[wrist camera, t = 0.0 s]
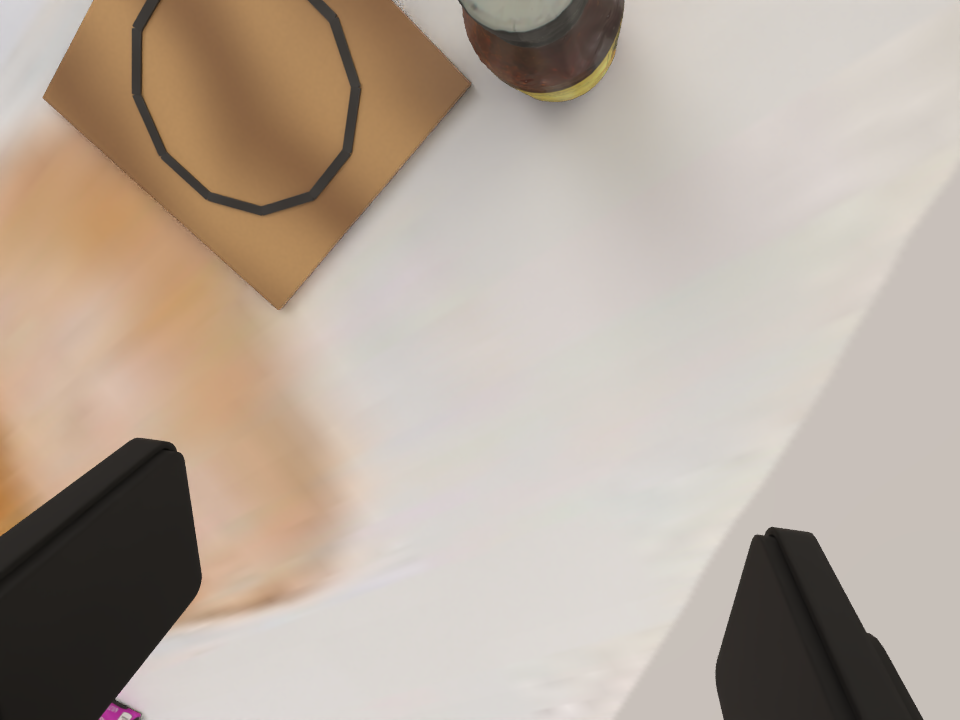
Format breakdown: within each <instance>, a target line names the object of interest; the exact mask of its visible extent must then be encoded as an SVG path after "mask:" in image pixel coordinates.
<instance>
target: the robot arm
mask: <svg viewBox="0 0 960 720" xmlns="http://www.w3.org/2000/svg"><path fill="white" fill-rule="evenodd" d="M201 580H202V573H201V567H200V560H199V553H198V547H197V540H196V533H195V527H194V520H193V513H192V507H191V500H190V493H189V487H188V480H187V473H186V467H185V460H184V457H183V455H182V454H181V453H179V452H177V450H176V447H175V446H174V445H173V444H172V443H170V442H166V441H159V440H152V439H145V438H134V439H133V440H131V441H129V442H128V443H126V444H125V445H124V446H122V447H121V448H119V449H118V450H117V451H115V452H114V453H113V454H111V455H110V456H109V457H107V458H106V459H105V460H103V461H102V462H101V463H99V464H98V465H96V466H95V467H94V468H92V469H91V470H90V471H88V472H87V473H86V474H84V475H83V476H82V477H80V478H79V479H78V480H76V481H75V482H73V483H72V484H71V485H69V486H68V487H67V488H65V489H64V490H63V491H61V492H60V493H59V494H57V495H56V496H55V497H53V498H52V499H50V500H49V501H48V502H46V503H45V504H44V505H42V506H41V507H40V508H38V509H37V510H36V511H34V512H33V513H32V514H30V515H29V516H27V517H26V518H25V519H23V520H22V521H21V522H19V523H18V524H17V525H15V526H14V527H13V528H11V529H10V530H9V531H7V532H6V533H4V534H3V535H2V536H0V720H99V718H100V717H101V716H102V715H103V713H104V712H105V711H106V709H107V708H108V707H109V706H110V704H111V703H112V702H113V701H114V699H115V698H116V697H117V696H118V694H119V693H120V692H121V690H122V689H123V688H124V687H125V685H126V684H127V683H128V682H129V680H130V679H131V678H132V677H133V675H134V674H135V673H136V671H137V670H138V669H139V668H140V666H141V665H142V664H143V663H144V661H145V660H146V659H147V658H148V656H149V655H150V654H151V652H152V651H153V650H154V649H155V647H156V646H157V645H158V644H159V642H160V641H161V640H162V639H163V637H164V636H165V635H166V633H167V632H168V631H169V630H170V628H171V627H172V626H173V625H174V623H175V622H176V621H177V620H178V618H179V617H180V616H181V615H182V613H183V612H184V611H185V609H186V608H187V607H188V606H189V604H190V603H191V602H192V601H193V599H194V598H195V596H196V595H197V593H198V591H199V588H200V585H201ZM716 686H717V692H718V696H719V701H720V705H721V709H722V714H723V718H724V720H923V718H922V716H921V715H920V713H919V711H918V709H917V707H916V705H915V704H914V702H913V700H912V698H911V696H910V695H909V693H908V691H907V689H906V687H905V685H904V684H903V682H902V680H901V678H900V677H899V675H898V673H897V671H896V669H895V667H894V665H893V664H892V662H891V660H890V658H889V657H888V655H887V653H886V651H885V649H884V648H883V647H882V645H881V643H880V642H879V641H878V639H877V638H875V637H874V636H873V635H871V634H870V633H866V631H865V629H864V627H863V625H862V623H861V622H860V620H859V618H858V616H857V614H856V613H855V610H854V608H853V607H852V605H851V603H850V601H849V599H848V597H847V595H846V594H845V592H844V590H843V588H842V586H841V584H840V582H839V580H838V579H837V577H836V575H835V573H834V571H833V570H832V567H831V566H830V564H829V562H828V560H827V558H826V556H825V554H824V552H823V551H822V549H821V547H820V545H819V543H818V541H817V539H816V538H815V536H814V535H813V534H812V533H809V532H804V531H797V530H790V529H783V528H775V527H771V528H769V529H768V530H767V531H766V533H765V535H764V536H763V535H755V536H754V537H753V539H752V542H751V545H750V549H749V552H748V555H747V559H746V562H745V566H744V569H743V572H742V576H741V579H740V583H739V586H738V590H737V593H736V597H735V600H734V604H733V607H732V610H731V614H730V617H729V621H728V624H727V628H726V631H725V635H724V638H723V642H722V645H721V648H720V652H719V655H718V659H717V663H716Z"/></svg>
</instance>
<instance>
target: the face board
mask: <svg viewBox="0 0 960 720" xmlns="http://www.w3.org/2000/svg"><path fill="white" fill-rule="evenodd" d="M470 86H471V82H470V81H469V80H468V79H467V78H466V77H465V76H464V75H463V74H462V73H461V72H460V71H459V70H458V69H457V68H456V67H455V66H454V65H453V64H452V62H451V61H450V60H449V59H448V58H447V57H446V56H445V55H444V54H443V53H442V52H441V51H440V50H439V49H438V48H437V47H436V46H435V45H434V44H433V43H432V42H431V40H430V39H429V38H428V37H427V36H426V35H425V34H424V33H423V32H422V31H421V30H420V29H419V28H418V27H417V26H416V25H415V24H414V23H413V22H412V21H411V20H410V19H409V17H408V16H407V15H406V14H405V13H404V12H403V11H402V10H401V9H400V8H399V7H398V6H397V5H396V4H395V3H394V2H393V1H392V0H93V2H92V4H91V6H90V8H89V10H88V12H87V14H86V16H85V17H84V19H83V21H82V23H81V25H80V27H79V29H78V31H77V33H76V35H75V37H74V38H73V40H72V42H71V44H70V46H69V48H68V50H67V52H66V54H65V56H64V58H63V59H62V61H61V63H60V65H59V67H58V69H57V71H56V73H55V75H54V77H53V79H52V80H51V82H50V84H49V86H48V88H47V90H46V92H45V94H44V96H43V99H44V100H45V101H47V102H48V103H49V104H50V105H51V106H52V107H53V108H54V109H55V110H57V111H58V112H59V113H60V114H61V115H62V116H63V117H64V118H65V119H67V120H68V121H69V122H70V123H71V124H72V125H73V126H74V127H75V128H77V129H78V130H79V131H80V132H81V133H82V134H83V135H84V136H85V137H87V138H88V139H89V140H90V141H91V142H92V143H93V144H94V145H95V146H97V147H98V148H99V149H100V150H101V151H102V152H103V153H104V154H105V155H106V156H108V157H109V158H110V159H111V160H112V161H113V162H114V163H115V164H116V165H118V166H119V167H120V168H121V169H122V170H123V171H124V172H125V173H126V174H128V175H129V176H130V177H131V178H132V179H133V180H134V181H135V182H136V183H138V184H139V185H140V186H141V187H142V188H143V189H144V190H145V191H146V192H148V193H149V194H150V195H151V196H152V197H153V198H154V199H155V200H156V201H158V202H159V203H160V204H161V205H162V206H163V207H164V208H165V209H166V210H168V211H169V212H170V213H171V214H172V215H173V216H174V217H175V218H176V219H178V220H179V221H180V222H181V223H182V224H183V225H184V226H185V227H186V228H188V229H189V230H190V231H191V232H192V233H193V234H194V235H195V236H196V237H198V238H199V239H200V240H201V241H202V242H203V243H204V244H205V245H206V246H208V247H209V248H210V249H211V250H212V251H213V252H214V253H215V254H216V255H218V256H219V257H220V258H221V259H222V260H223V261H224V262H225V263H226V264H228V265H229V266H230V267H231V268H232V269H233V270H234V271H235V272H236V273H237V274H239V275H240V276H241V277H242V278H243V279H244V280H245V281H246V282H247V283H249V284H250V285H251V286H252V287H253V288H254V289H255V290H256V291H257V292H259V293H260V294H261V295H262V296H263V297H264V298H265V299H266V300H267V301H269V302H270V303H271V304H272V305H273V306H274V307H275V308H276V309H277V310H280V309H281V308H283V306H284V305H285V304H286V303H287V302H288V300H289V299H290V298H291V297H292V296H293V295H294V293H295V292H296V291H297V290H298V289H299V287H300V286H301V285H302V284H303V283H304V282H305V280H306V279H307V278H308V277H309V276H310V274H311V273H312V272H313V271H314V270H315V269H316V267H317V266H318V265H319V264H320V263H321V262H322V260H323V259H324V258H325V257H326V256H327V254H328V253H329V252H330V251H331V250H332V249H333V247H334V246H335V245H336V244H337V243H338V241H339V240H340V239H341V238H342V237H343V236H344V234H345V233H346V232H347V231H348V230H349V228H350V227H351V226H352V225H353V224H354V223H355V221H356V220H357V219H358V218H359V217H360V216H361V214H362V213H363V212H364V211H365V210H366V208H367V207H368V206H369V205H370V204H371V203H372V201H373V200H374V199H375V198H376V197H377V195H378V194H379V193H380V192H381V191H382V190H383V188H384V187H385V186H386V185H387V184H388V182H389V181H390V180H391V179H392V178H393V177H394V175H395V174H396V173H397V172H398V171H399V170H400V168H401V167H402V166H403V165H404V164H405V162H406V161H407V160H408V159H409V158H410V157H411V155H412V154H413V153H414V152H415V151H416V149H417V148H418V147H419V146H420V145H421V144H422V142H423V141H424V140H425V139H426V138H427V136H428V135H429V134H430V133H431V132H432V131H433V129H434V128H435V127H436V126H437V125H438V124H439V122H440V121H441V120H442V119H443V118H444V116H445V115H446V114H447V113H448V112H449V111H450V109H451V108H452V107H453V106H454V105H455V103H456V102H457V101H458V100H459V99H460V98H461V96H462V95H463V94H464V93H465V92H466V90H467V89H468V88H469V87H470Z"/></svg>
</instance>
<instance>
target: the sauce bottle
mask: <svg viewBox="0 0 960 720" xmlns="http://www.w3.org/2000/svg"><path fill="white" fill-rule="evenodd" d="M458 1H459V2H460V4H461V5H462V9H463V18H464V23H465V29H466V32H467V36H468V38H469V41H470V42H471V44H472V46H473V48H474V50H475V52H476V54H477V55H478V56H479V58H480V60H481V62H483V63H484V64H485V65H486V66H487V68H488V69H490V70H491V71H492V72H493V73H494V74H495V75H496V76H497V77H498V78H499V79H501V80H502V81H503V82H505V83H506V84H508V85H509V86H511V87H513V88H515V89H517V90H519V91H521V92H523V93H525V94H527V95H529V96H531V97H533V98H535V99H538V100H541V101H549V102H562V101H567V100H572V99H574V98H576V97H579V96H581V95H583V94H585V93H586V92H588V91H589V90H590V89H592V88H593V87H594V86H595V85H596V84H597V83H598V82H599V81H600V80H601V79H602V77H603V76H604V75H605V73H606V72H607V70H608V68H609V66H610V64H611V62H612V60H613V58H614V55H615V51H616V46H617V40H618V37H619V33H620V28H621V22H622V18H623V11H624V0H458Z"/></svg>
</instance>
